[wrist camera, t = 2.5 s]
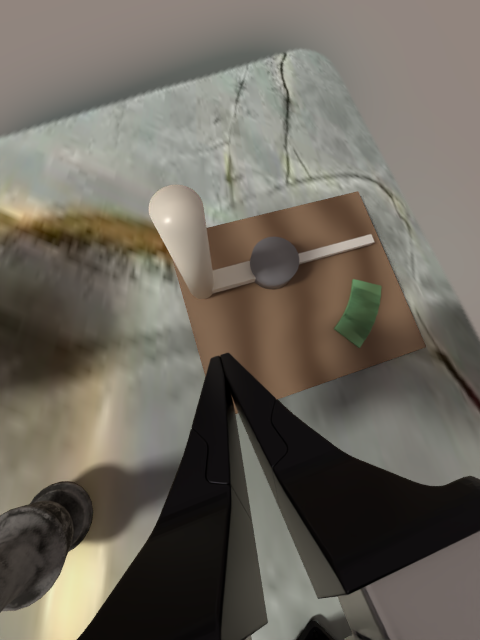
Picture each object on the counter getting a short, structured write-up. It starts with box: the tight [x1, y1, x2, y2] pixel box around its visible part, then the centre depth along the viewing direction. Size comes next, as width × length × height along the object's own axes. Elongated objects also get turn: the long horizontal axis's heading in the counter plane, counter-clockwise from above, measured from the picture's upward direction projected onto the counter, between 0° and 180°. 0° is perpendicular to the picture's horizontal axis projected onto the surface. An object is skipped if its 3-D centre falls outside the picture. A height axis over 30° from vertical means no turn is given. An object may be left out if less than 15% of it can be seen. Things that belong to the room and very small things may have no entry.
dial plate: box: [172, 192, 426, 414], centre depth 22 cm, size 22×18×1 cm
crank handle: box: [149, 185, 374, 299], centre depth 16 cm, size 19×4×11 cm, turn 107°
